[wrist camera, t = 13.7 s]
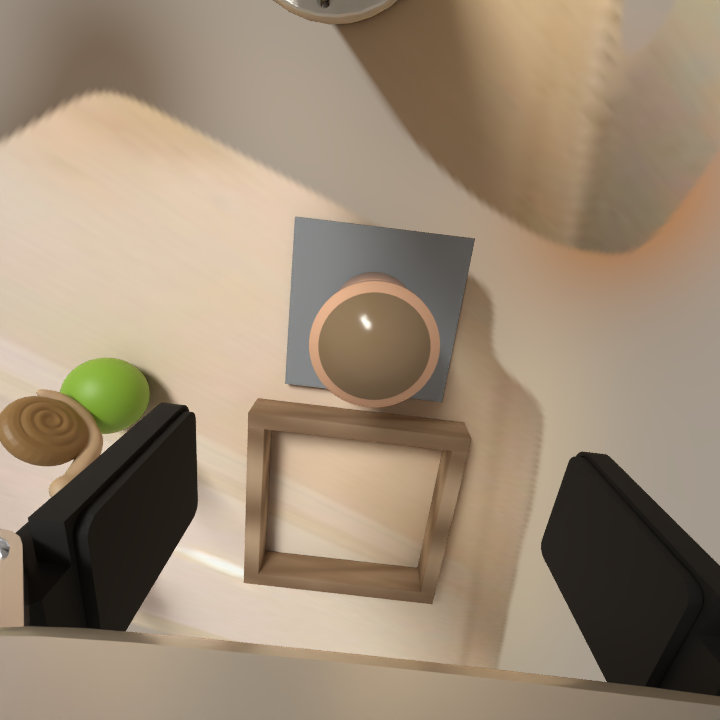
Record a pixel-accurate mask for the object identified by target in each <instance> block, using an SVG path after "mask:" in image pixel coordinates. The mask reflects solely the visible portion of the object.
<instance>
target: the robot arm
mask: <svg viewBox="0 0 720 720" xmlns="http://www.w3.org/2000/svg"><path fill="white" fill-rule="evenodd" d="M274 1H275V2H276V3H278V4H279V5H281V6H282V7H283V8H285V9H286V10H288V11H289V12H291V13H293V14H296V15H298V16H300V17H303V18H305V19H307V20H310V21H315V22H321V23H326V24H345V23H353V22H357V21H360V20H364V19H367V18H371V17H372V16H374V15H376V14H378V13H380V12H382V11H384V10H385V9H387V8H389V7H391V6H392V5H393V4H394V3H395V2H397V1H398V0H274ZM324 2H328V3H329V4H330V5H329V6H328V7H327V8H322V7H321V6H322V4H323V3H324ZM197 505H198V491H197V453H196V418H195V414H194V413H193V412H189V409H188V407H187V406H186V405H177V404H169V403H161V404H159V405H158V406H157V407H155V408H154V409H153V410H152V411H151V412H150V413H149V414H147V415H146V416H145V417H144V418H143V419H142V420H140V421H139V422H138V423H137V424H136V425H135V426H134V427H132V428H131V429H130V430H129V431H128V432H127V433H125V434H124V435H123V436H122V437H121V438H120V439H119V440H117V441H116V442H115V443H114V444H113V445H112V446H110V447H109V448H108V449H107V450H106V451H105V452H103V453H102V454H101V455H100V456H99V457H98V458H97V459H95V460H94V461H93V462H92V463H91V464H90V465H88V466H87V467H86V468H85V469H84V470H83V471H82V472H80V473H79V474H78V475H77V476H76V477H75V478H73V479H72V480H71V481H70V482H69V483H68V484H67V485H65V486H64V487H63V488H62V489H61V490H60V491H58V492H57V493H56V494H55V495H54V496H53V497H51V498H50V499H49V500H48V501H47V502H46V503H45V504H43V505H42V506H41V507H40V508H39V509H38V510H36V511H35V512H34V513H33V514H32V515H31V516H30V517H28V521H29V522H28V523H26V524H25V525H24V526H23V527H22V528H21V529H20V530H18V531H17V532H16V533H14V532H12V531H9V530H4V529H0V720H720V566H719V565H718V564H717V563H716V562H715V561H714V560H713V559H712V558H711V557H710V556H709V555H708V554H707V553H706V552H705V551H704V550H703V549H702V548H701V547H700V546H699V545H698V544H697V543H696V542H695V541H694V540H693V539H692V538H691V537H690V536H689V535H688V534H687V533H686V532H685V531H684V530H683V529H682V528H681V527H680V526H679V525H678V524H677V523H676V522H675V521H674V520H673V519H672V518H671V517H670V516H669V515H668V514H667V513H666V512H665V511H664V510H663V509H662V508H661V507H660V506H659V505H658V504H657V503H656V502H655V501H654V500H653V499H652V498H651V497H650V496H649V495H648V494H647V493H646V492H645V491H644V490H643V489H642V488H641V487H640V486H639V485H637V483H636V482H634V480H633V479H632V478H631V477H629V475H628V474H627V473H626V472H625V471H624V470H623V469H622V468H621V467H619V466H618V464H617V463H615V461H614V460H612V459H611V458H610V457H609V456H608V455H606V454H598V453H590V452H580V453H578V454H577V456H576V457H572V458H571V459H570V460H569V463H568V466H567V469H566V472H565V475H564V477H563V480H562V483H561V487H560V489H559V492H558V495H557V498H556V501H555V503H554V506H553V509H552V513H551V516H550V518H549V521H548V524H547V527H546V530H545V533H544V536H543V539H542V542H541V550H542V555H543V557H544V559H545V562H546V563H547V566H548V567H549V569H550V571H551V573H552V575H553V577H554V579H555V581H556V583H557V585H558V587H559V589H560V591H561V593H562V595H563V597H564V599H565V601H566V603H567V604H568V606H569V609H570V610H571V612H572V614H573V616H574V618H575V620H576V622H577V624H578V626H579V628H580V630H581V632H582V634H583V636H584V638H585V640H586V642H587V644H588V645H589V648H590V650H591V652H592V654H593V656H594V658H595V660H596V662H597V663H598V665H599V667H600V669H601V671H602V673H603V675H604V677H605V679H606V681H607V682H600V681H592V680H583V679H574V678H566V677H557V676H548V675H539V674H531V673H522V672H513V671H505V670H496V669H487V668H478V667H469V666H459V665H450V664H441V663H432V662H423V661H414V660H405V659H395V658H386V657H377V656H368V655H358V654H349V653H340V652H331V651H321V650H311V649H301V648H292V647H282V646H272V645H262V644H253V643H243V642H233V641H224V640H214V639H204V638H194V637H185V636H173V635H161V634H148V633H137V632H126V630H127V628H128V626H129V625H130V623H131V621H132V620H133V618H134V616H135V615H136V613H137V611H138V610H139V608H140V606H141V605H142V603H143V601H144V600H145V598H146V596H147V595H148V593H149V591H150V590H151V588H152V586H153V585H154V583H155V581H156V580H157V578H158V576H159V575H160V573H161V571H162V570H163V568H164V566H165V565H166V563H167V561H168V560H169V558H170V556H171V555H172V553H173V551H174V549H175V548H176V546H177V544H178V543H179V541H180V539H181V538H182V536H183V534H184V533H185V531H186V529H187V528H188V526H189V524H190V523H191V521H192V519H193V518H194V516H195V513H196V510H197Z"/></svg>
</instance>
